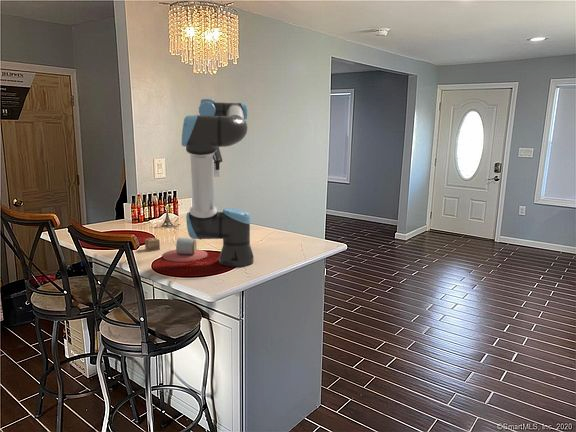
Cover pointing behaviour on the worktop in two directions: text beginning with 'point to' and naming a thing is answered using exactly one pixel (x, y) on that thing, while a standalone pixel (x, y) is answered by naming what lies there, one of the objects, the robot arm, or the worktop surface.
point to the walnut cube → (152, 244)
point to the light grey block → (186, 246)
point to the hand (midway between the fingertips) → (209, 175)
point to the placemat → (184, 256)
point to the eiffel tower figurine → (168, 221)
